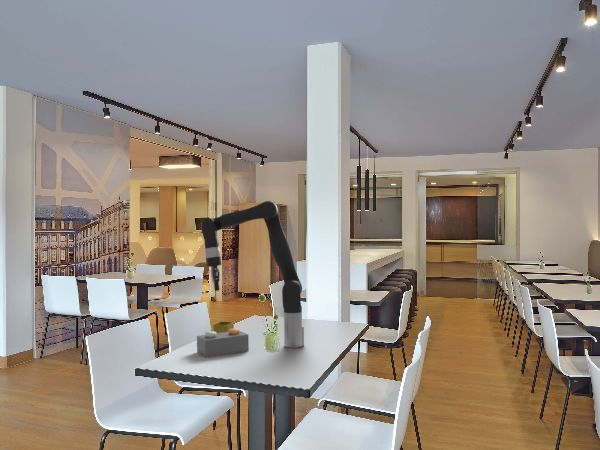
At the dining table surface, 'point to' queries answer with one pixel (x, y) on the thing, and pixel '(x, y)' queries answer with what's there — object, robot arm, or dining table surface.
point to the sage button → (210, 334)
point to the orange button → (233, 331)
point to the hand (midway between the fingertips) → (217, 290)
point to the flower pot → (223, 326)
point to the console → (222, 344)
